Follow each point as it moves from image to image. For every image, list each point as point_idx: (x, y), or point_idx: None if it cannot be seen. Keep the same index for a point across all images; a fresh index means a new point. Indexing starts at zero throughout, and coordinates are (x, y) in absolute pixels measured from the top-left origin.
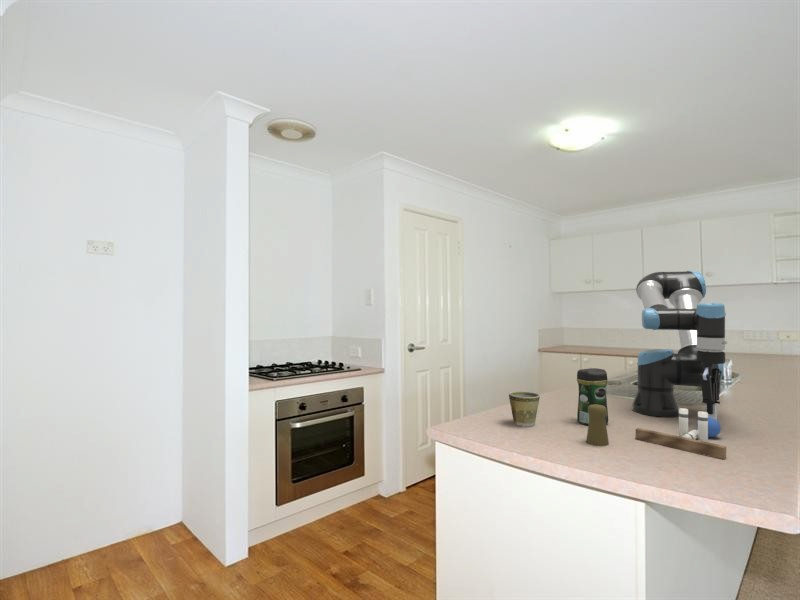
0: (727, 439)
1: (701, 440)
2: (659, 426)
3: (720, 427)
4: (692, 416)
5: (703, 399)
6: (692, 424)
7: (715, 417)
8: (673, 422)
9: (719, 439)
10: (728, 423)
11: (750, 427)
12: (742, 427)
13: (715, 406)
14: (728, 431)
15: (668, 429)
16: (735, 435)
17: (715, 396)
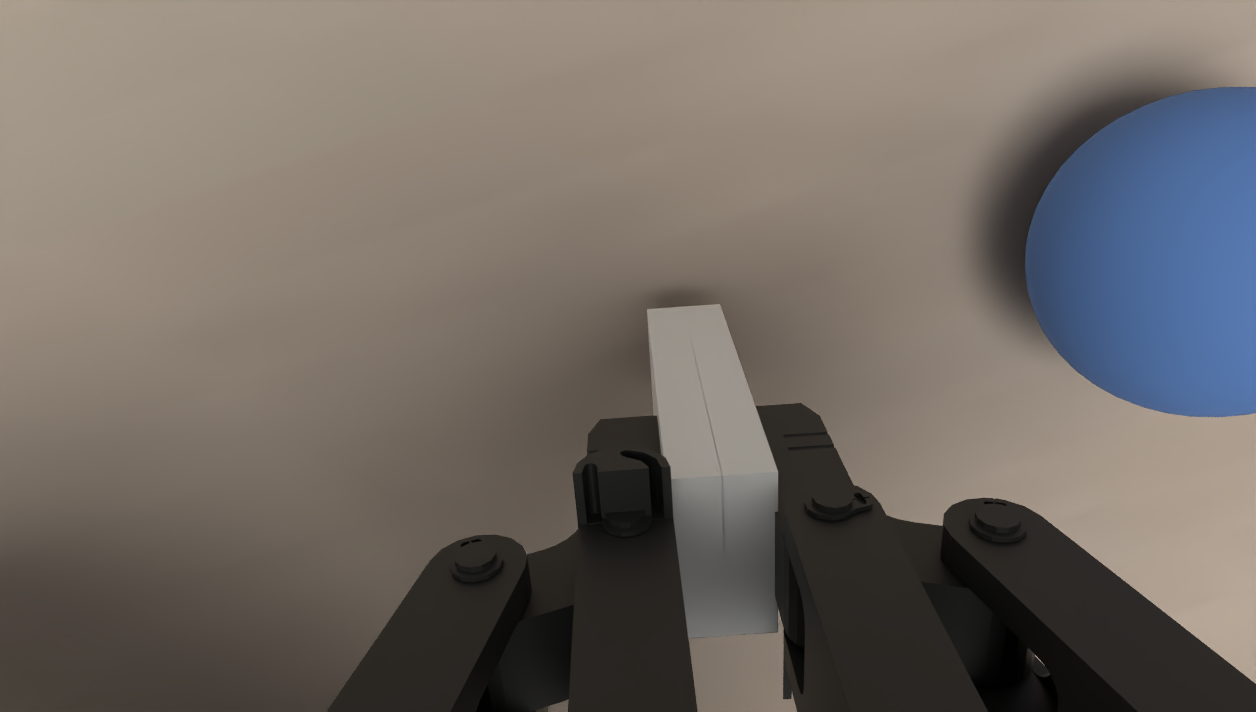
0: (1077, 4)
1: None
2: None
3: (1243, 94)
4: (183, 692)
5: (1040, 685)
6: None
7: (727, 350)
8: (696, 692)
9: (1157, 77)
10: (93, 321)
11: (5, 37)
12: (133, 116)
13: (760, 448)
14: (579, 158)
15: None
16: (739, 11)
17: (685, 619)
